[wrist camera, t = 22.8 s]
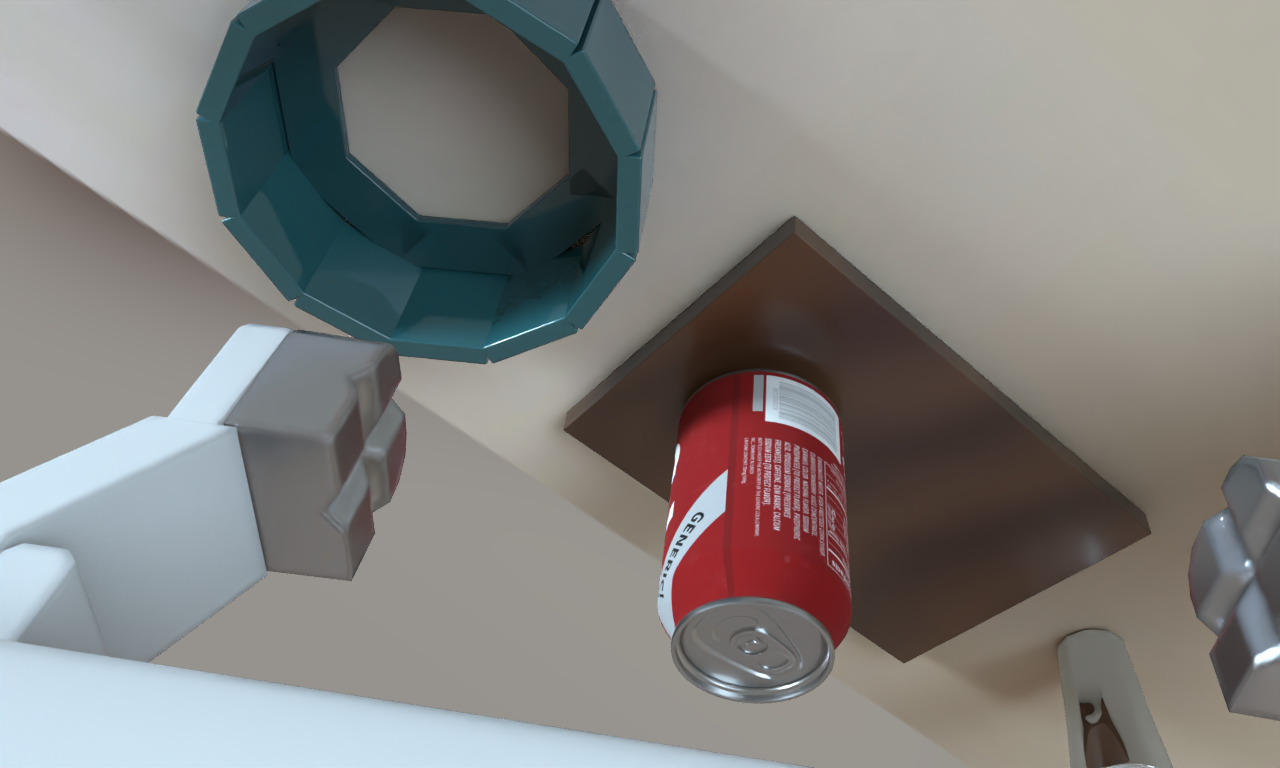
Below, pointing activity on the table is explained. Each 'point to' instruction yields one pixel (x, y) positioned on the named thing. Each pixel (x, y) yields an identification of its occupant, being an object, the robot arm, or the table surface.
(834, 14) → the table surface
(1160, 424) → the table surface
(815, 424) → the soda can
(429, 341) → the bowl
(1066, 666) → the milkshake
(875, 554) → the serving board
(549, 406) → the table surface
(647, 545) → the table surface
